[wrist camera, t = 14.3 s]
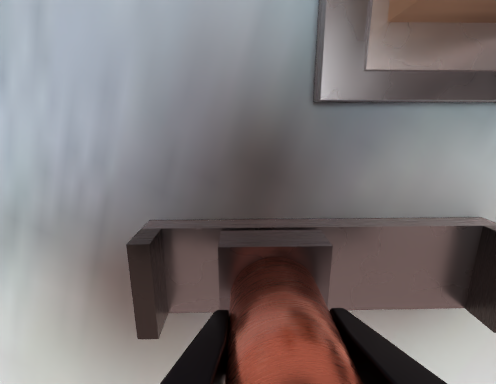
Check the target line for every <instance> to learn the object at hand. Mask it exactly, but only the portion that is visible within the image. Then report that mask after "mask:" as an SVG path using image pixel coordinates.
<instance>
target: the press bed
mask: <svg viewBox="0 0 496 384" xmlns="http://www.w3.org/2000/svg"><path fill="white" fill-rule="evenodd" d="M389 2H390V0H319V11H318V29H317V47H316V64H315V82H314V100H313V102H496V23H438V22H387V20H388V11H389Z"/></svg>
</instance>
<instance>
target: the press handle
mask: <svg viewBox="0 0 496 384" xmlns="http://www.w3.org/2000/svg"><path fill="white" fill-rule="evenodd" d="M332 249H333V246H332V245H331V243H330V242H329V241H328V239H327V238H326V236H325V235H324V234H323V232H322V231H321V230H244V231H221V233H220V238H219V244H218V270H219V304H220V310H229V330H228V347H227V359H226V375H225V384H363V382H362V380H361V378H360V376H359V374H358V372H357V369H356V367H355V365H354V363H353V361H352V359H351V357H350V354H349V352H348V350H347V348H346V346H345V344H344V342H343V339H342V337H341V335H340V333H339V331H338V329H337V327H336V325H335V322H334V320H333V318H332V316H331V314H330V312H329V310H328V297H329V285H330V273H331V261H332Z"/></svg>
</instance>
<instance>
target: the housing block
mask: <svg viewBox="0 0 496 384" xmlns="http://www.w3.org/2000/svg"><path fill="white" fill-rule="evenodd" d="M387 22H438V23H496V0H390V2H389V11H388V20H387Z"/></svg>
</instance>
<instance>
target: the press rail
mask: <svg viewBox="0 0 496 384" xmlns="http://www.w3.org/2000/svg"><path fill="white" fill-rule="evenodd" d="M244 230H321V231H322V232H323V234H324V235H325V236H326V238H327V239H328V241H329V242H330V243H331V245H332V246H333V249H332V261H331V273H330V285H329V297H328V310H330V309H331V308H344V309H345V310H372V309H434V308H465V309H466V310H467V311H469V312H470V313H471V314H472V315H473V316H475V317H476V318H477V319H478V320H480V321H481V322H482V323H483V324H484V325H486V326H487V327H488V328H489V329H490V330H492V331H493V332H494V333H496V223H494V222H492V221H489V220H487V219H484V218H482V217H468V218H347V219H225V220H149V221H148V222H147V223H146V224H145V225H144V227H143V228H142V229H141V230H140V231H139V232H138V233H137V234H136V235H135V236H134V237H133V238H132V239H131V240H130V241H129V242H128V243H127V244H126V246H127V254H128V262H129V271H130V279H131V288H132V296H133V304H134V313H135V321H136V329H137V338H138V339H158V338H159V336H160V333H161V331H162V328H163V325H164V323H165V320H166V318H167V315H168V313H187V312H215V311H216V310H220V304H219V270H218V244H219V238H220V233H221V231H244Z"/></svg>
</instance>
